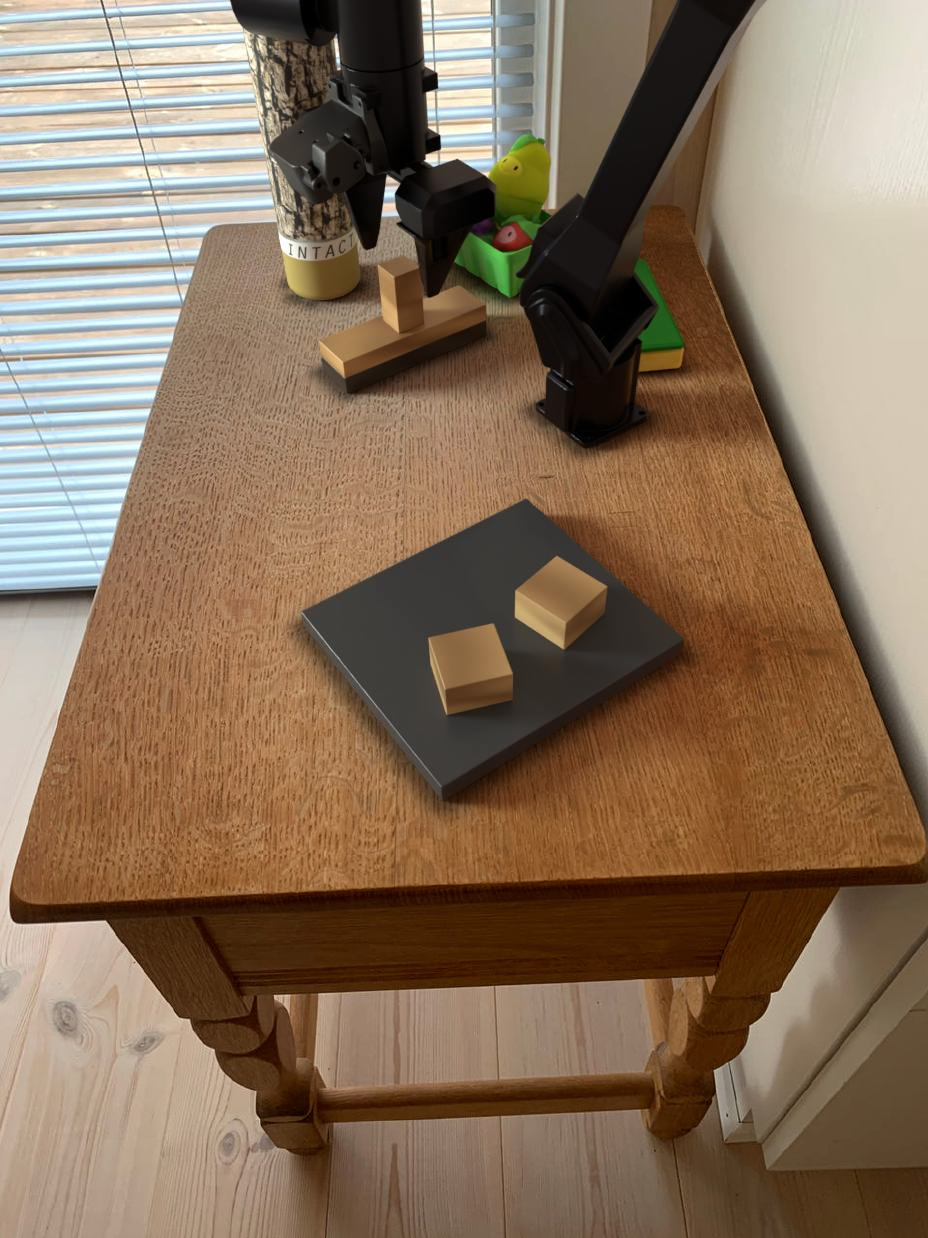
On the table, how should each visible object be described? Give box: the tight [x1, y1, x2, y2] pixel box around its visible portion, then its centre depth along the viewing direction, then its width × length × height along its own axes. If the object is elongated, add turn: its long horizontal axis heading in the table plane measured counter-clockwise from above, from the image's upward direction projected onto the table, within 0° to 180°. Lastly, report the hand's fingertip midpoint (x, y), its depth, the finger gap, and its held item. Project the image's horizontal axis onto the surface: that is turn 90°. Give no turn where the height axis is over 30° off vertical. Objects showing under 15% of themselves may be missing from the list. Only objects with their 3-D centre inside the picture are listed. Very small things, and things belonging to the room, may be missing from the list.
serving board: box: [300, 498, 685, 802], centre depth 62 cm, size 18×16×2 cm
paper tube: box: [242, 27, 361, 301], centre depth 82 cm, size 7×7×25 cm
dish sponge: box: [634, 258, 686, 373], centre depth 85 cm, size 7×14×2 cm, turn 7°
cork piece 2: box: [515, 556, 607, 650], centre depth 61 cm, size 4×4×2 cm
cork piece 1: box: [428, 624, 513, 715], centre depth 57 cm, size 4×4×2 cm
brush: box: [318, 254, 487, 395], centre depth 81 cm, size 14×4×8 cm, turn 125°
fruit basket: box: [454, 133, 553, 298], centre depth 88 cm, size 11×9×11 cm
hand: (400, 271), depth 78 cm, fingers open, 9 cm apart
